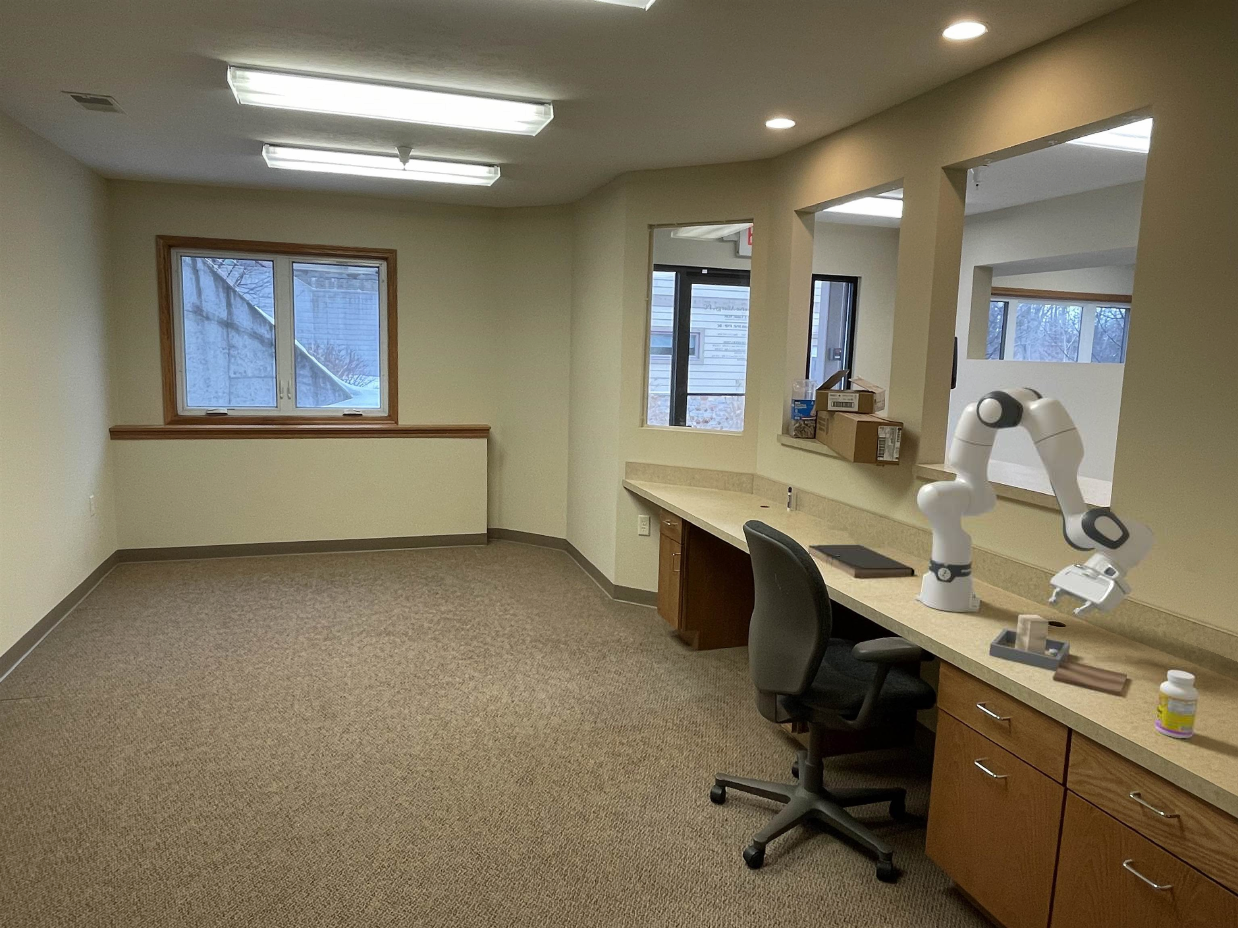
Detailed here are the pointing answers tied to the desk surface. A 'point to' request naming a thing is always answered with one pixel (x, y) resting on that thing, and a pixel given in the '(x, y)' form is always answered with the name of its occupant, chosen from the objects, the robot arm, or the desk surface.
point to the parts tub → (1043, 661)
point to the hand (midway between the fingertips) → (1063, 609)
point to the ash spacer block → (1031, 634)
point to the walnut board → (1090, 677)
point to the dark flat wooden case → (859, 561)
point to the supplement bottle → (1177, 705)
